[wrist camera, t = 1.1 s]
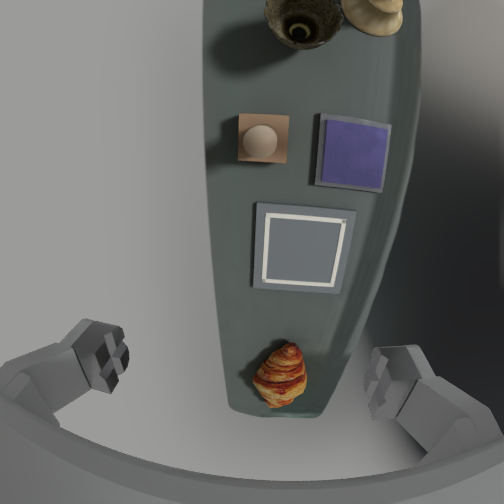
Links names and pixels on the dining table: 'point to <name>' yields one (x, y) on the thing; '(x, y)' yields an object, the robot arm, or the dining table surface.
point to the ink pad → (352, 153)
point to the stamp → (263, 137)
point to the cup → (303, 21)
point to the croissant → (281, 376)
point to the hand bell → (374, 15)
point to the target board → (301, 247)
